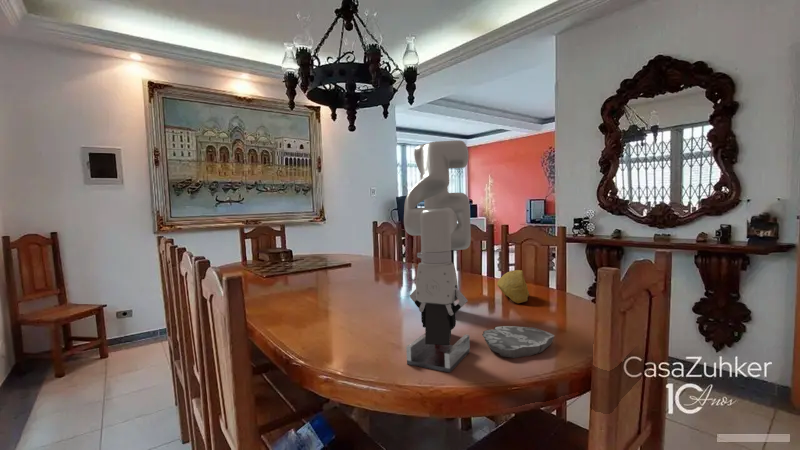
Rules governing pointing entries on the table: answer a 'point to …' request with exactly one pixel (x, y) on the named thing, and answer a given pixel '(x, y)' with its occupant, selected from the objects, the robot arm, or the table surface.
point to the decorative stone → (514, 286)
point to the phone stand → (437, 325)
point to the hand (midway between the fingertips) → (438, 326)
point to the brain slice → (517, 340)
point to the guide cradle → (437, 354)
